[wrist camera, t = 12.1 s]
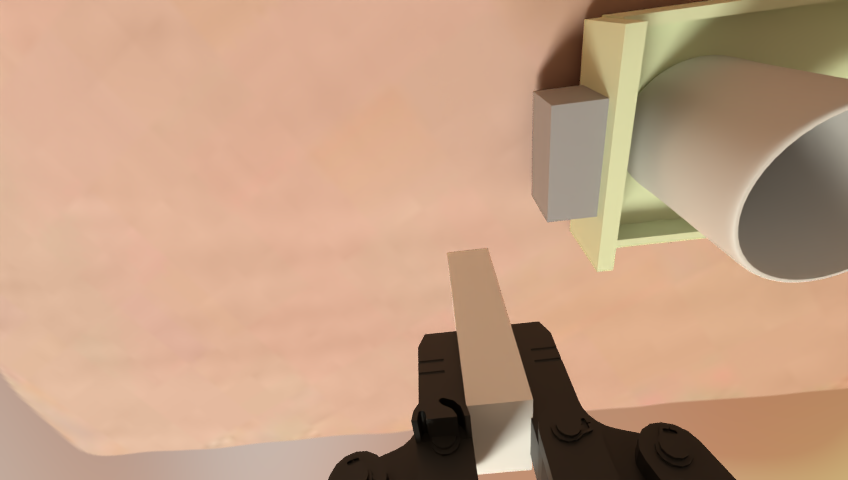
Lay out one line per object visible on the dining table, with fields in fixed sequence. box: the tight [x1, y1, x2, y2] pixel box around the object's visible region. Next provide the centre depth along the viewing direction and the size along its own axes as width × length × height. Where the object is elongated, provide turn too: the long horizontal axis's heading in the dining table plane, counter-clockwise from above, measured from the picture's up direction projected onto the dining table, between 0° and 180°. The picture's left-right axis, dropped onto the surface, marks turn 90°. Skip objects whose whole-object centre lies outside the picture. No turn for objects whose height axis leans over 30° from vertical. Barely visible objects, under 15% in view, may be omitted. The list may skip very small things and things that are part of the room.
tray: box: [532, 0, 848, 272], centre depth 24 cm, size 14×20×5 cm
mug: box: [627, 55, 848, 282], centre depth 21 cm, size 12×8×11 cm
